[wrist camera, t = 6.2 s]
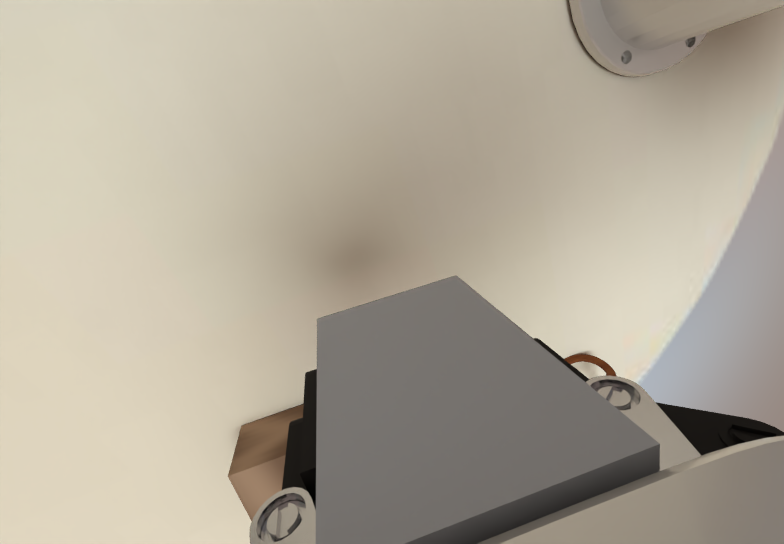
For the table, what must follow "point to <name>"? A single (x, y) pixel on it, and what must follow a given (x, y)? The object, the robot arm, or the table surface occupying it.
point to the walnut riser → (261, 458)
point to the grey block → (455, 424)
